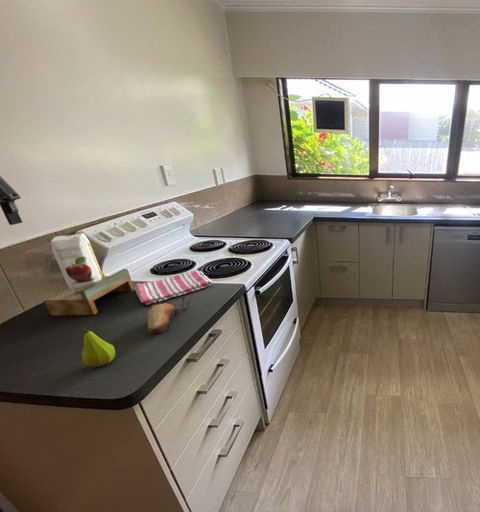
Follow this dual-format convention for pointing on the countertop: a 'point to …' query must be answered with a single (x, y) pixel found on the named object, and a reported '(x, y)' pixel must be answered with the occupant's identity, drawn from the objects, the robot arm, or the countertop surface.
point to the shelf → (88, 295)
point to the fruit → (96, 350)
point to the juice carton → (76, 261)
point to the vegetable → (161, 316)
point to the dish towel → (171, 287)
